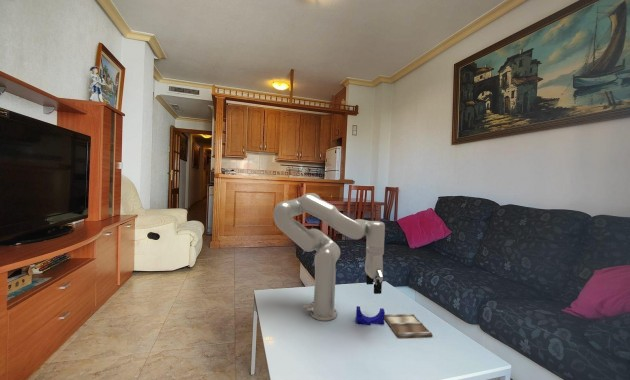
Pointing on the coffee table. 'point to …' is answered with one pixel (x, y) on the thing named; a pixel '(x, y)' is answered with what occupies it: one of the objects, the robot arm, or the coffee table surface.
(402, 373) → the coffee table surface
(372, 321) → the cable clip
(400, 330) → the organizer board
